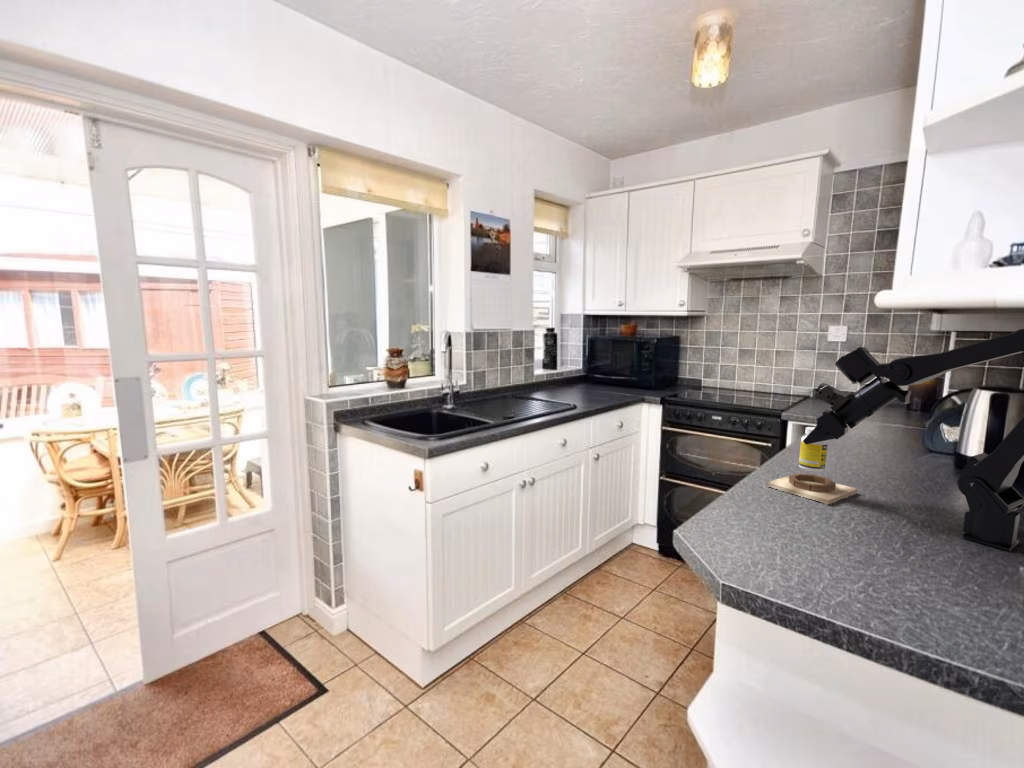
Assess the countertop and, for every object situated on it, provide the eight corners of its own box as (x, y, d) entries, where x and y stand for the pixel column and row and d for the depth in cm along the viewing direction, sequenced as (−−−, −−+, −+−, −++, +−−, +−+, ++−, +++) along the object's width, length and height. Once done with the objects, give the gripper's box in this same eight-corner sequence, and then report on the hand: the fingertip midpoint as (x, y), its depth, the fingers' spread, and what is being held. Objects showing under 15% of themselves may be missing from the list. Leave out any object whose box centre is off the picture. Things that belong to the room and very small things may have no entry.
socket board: (856, 493, 116) (858, 482, 116) (828, 505, 109) (829, 493, 108) (796, 477, 128) (797, 467, 128) (766, 487, 120) (767, 476, 120)
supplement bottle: (824, 473, 113) (827, 432, 112) (797, 469, 116) (800, 428, 115) (826, 468, 117) (829, 428, 116) (800, 464, 120) (803, 425, 119)
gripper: (848, 369, 118) (793, 409, 127) (830, 375, 104) (770, 419, 113) (885, 406, 113) (826, 444, 122) (872, 417, 100) (806, 458, 109)
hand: (807, 440), depth 117 cm, fingers closed on supplement bottle, 5 cm apart
